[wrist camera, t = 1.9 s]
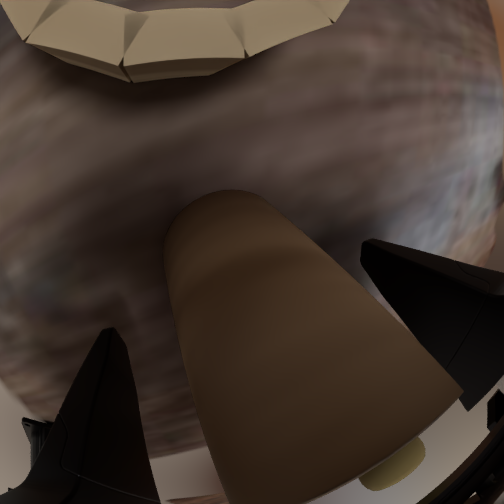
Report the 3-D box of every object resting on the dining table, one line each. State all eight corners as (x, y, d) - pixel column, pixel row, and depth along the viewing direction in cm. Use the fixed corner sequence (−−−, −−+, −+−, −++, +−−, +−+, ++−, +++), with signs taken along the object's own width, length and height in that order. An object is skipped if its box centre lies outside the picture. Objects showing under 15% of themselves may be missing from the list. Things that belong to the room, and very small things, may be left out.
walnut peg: (249, 310, 13) (349, 482, 6) (145, 286, 10) (198, 533, 3) (304, 217, 11) (479, 376, 4) (195, 168, 9) (401, 439, 2)
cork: (290, 406, 21) (351, 508, 12) (317, 362, 18) (401, 484, 9) (344, 389, 23) (403, 473, 14) (373, 346, 20) (451, 440, 11)
